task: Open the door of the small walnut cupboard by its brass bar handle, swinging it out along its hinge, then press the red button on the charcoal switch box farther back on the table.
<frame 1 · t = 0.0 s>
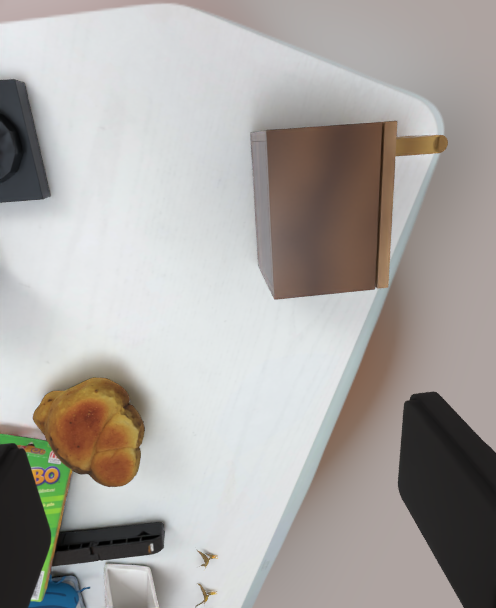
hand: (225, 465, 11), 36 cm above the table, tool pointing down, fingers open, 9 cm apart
bread roll: (102, 444, 44), point 7 cm above the table
game box: (3, 590, 53), point 5 cm above the table, touching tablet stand
cupboard door: (391, 199, 40), point 5 cm above the table, hinge at 0.0°
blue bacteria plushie: (28, 600, 61), on the table, touching toy
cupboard: (297, 199, 45), on the table
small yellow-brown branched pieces: (214, 587, 61), point 2 cm above the table
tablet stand: (97, 533, 58), on the table, touching game box
toy: (36, 570, 56), point 2 cm above the table, touching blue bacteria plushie
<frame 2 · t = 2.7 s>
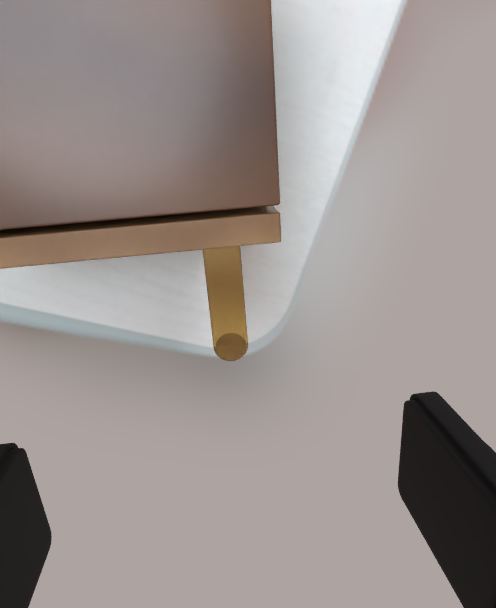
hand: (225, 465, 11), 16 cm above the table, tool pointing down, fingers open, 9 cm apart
cupboard door: (117, 276, 20), point 5 cm above the table, hinge at 0.0°
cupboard: (108, 97, 22), on the table
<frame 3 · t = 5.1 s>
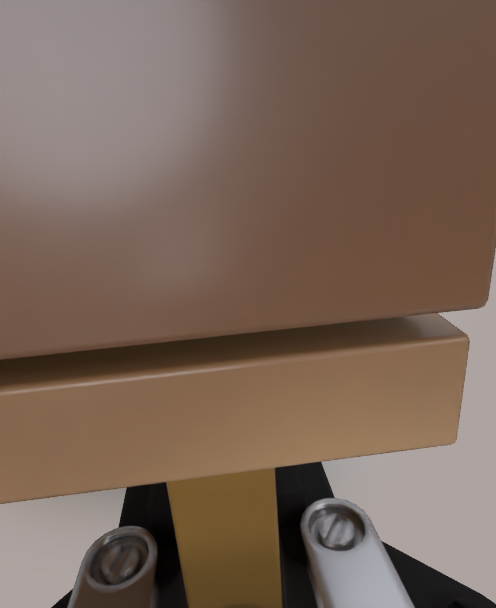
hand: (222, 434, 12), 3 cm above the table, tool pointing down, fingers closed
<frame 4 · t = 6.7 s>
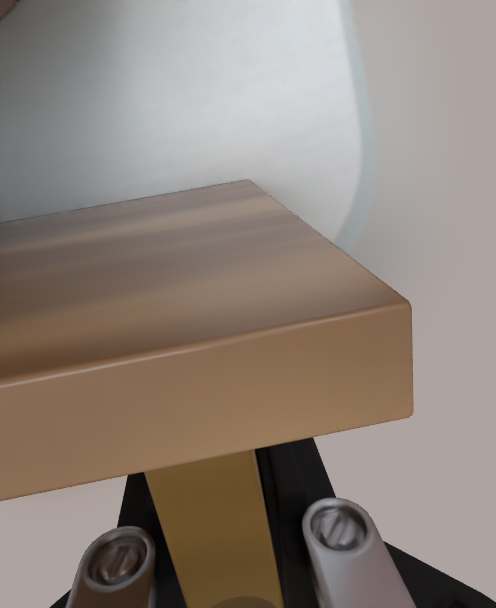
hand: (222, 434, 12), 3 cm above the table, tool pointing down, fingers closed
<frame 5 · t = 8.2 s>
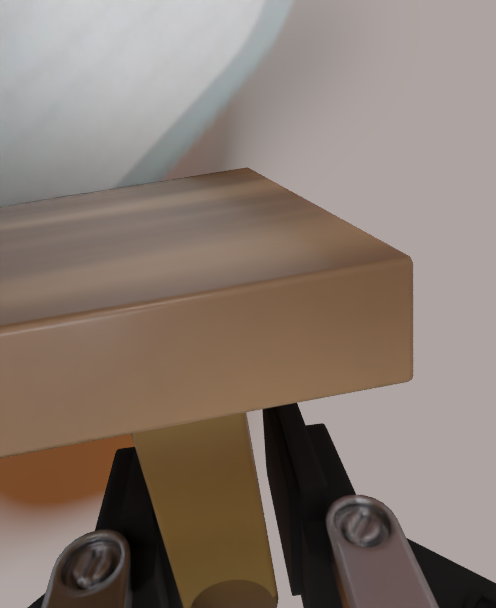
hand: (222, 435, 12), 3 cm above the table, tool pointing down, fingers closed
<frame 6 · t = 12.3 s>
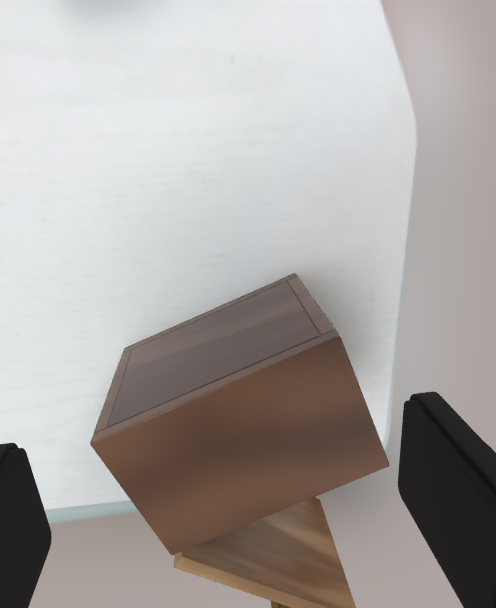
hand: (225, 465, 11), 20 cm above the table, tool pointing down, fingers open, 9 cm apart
cupboard door: (243, 550, 32), point 5 cm above the table, hinge at 55.7°
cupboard: (233, 360, 33), on the table
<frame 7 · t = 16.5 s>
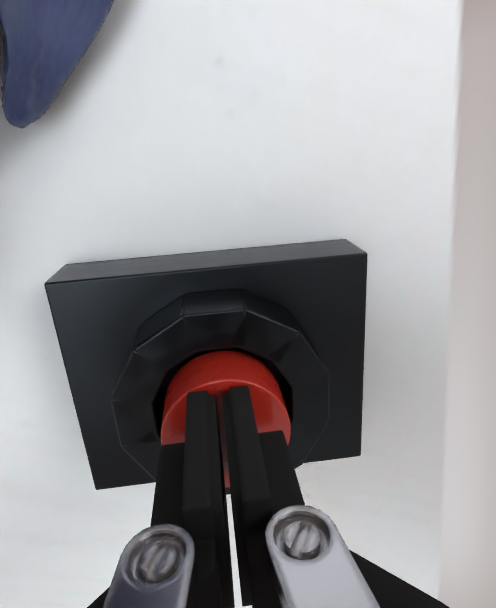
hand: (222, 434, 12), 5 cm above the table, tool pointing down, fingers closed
button: (225, 417, 13), point 4 cm above the table, slide at -0.1 cm, touching gripper
switch box: (219, 351, 17), on the table
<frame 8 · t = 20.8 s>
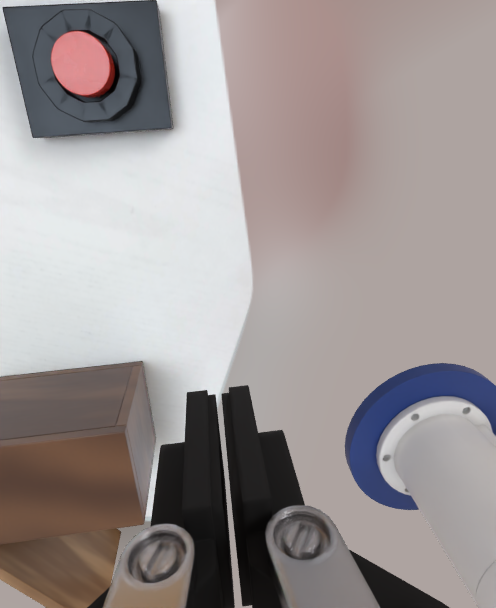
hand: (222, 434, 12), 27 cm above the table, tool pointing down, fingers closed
button: (84, 66, 28), point 4 cm above the table, slide at 0.1 cm
switch box: (98, 75, 32), on the table
cupboard door: (37, 557, 41), point 5 cm above the table, hinge at 55.7°
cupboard: (79, 409, 42), on the table
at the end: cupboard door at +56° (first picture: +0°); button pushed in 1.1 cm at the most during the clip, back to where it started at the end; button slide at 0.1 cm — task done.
